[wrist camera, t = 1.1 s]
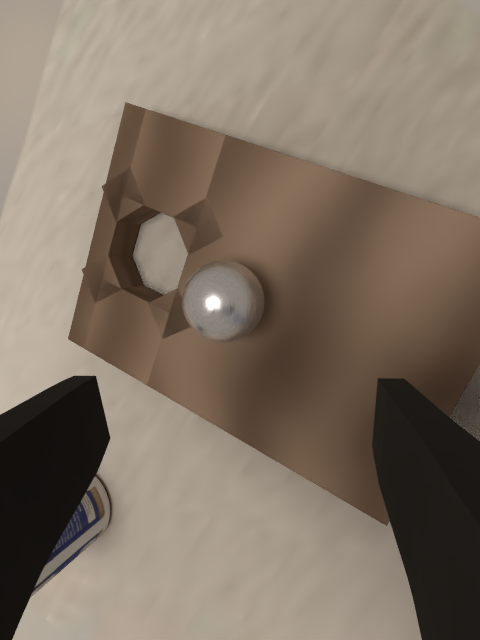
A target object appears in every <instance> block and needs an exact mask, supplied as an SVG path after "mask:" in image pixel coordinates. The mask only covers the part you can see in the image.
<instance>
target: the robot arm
mask: <svg viewBox="0 0 480 640" xmlns="http://www.w3.org/2000/svg"><path fill="white" fill-rule="evenodd" d="M109 440H110V435H109V431H108V426H107V422H106V418H105V413H104V409H103V405H102V400H101V396H100V392H99V387H98V383H97V379H96V376H73V377H70V378H68V379H66V380H64V381H62V382H60V383H58V384H56V385H54V386H52V387H50V388H48V389H46V390H44V391H43V392H41V393H39V394H37V395H35V396H34V397H32V398H30V399H28V400H26V401H25V402H23V403H21V404H19V405H17V406H16V407H14V408H12V409H10V410H8V411H7V412H5V413H3V414H1V415H0V640H12V638H13V636H14V634H15V631H16V629H17V626H18V624H19V622H20V619H21V617H22V614H23V612H24V610H25V608H26V606H27V603H28V601H29V599H30V597H31V595H32V592H33V590H34V588H35V586H36V583H37V581H38V579H39V577H40V575H41V572H42V570H43V569H44V567H45V565H46V563H47V561H48V559H49V557H50V555H51V553H52V551H53V550H54V548H55V546H56V544H57V543H58V541H59V539H60V537H61V536H62V534H63V532H64V530H65V529H66V527H67V525H68V523H69V521H70V520H71V518H72V516H73V514H74V513H75V511H76V509H77V507H78V506H79V504H80V502H81V500H82V499H83V497H84V495H85V493H86V491H87V490H88V488H89V486H90V484H91V482H92V481H93V479H94V477H95V475H96V473H97V471H98V469H99V466H100V464H101V461H102V459H103V456H104V454H105V451H106V448H107V446H108V443H109ZM372 449H373V454H374V460H375V466H376V472H377V477H378V482H379V486H380V490H381V493H382V496H383V500H384V503H385V506H386V509H387V513H388V516H389V519H390V522H391V526H392V529H393V532H394V535H395V538H396V542H397V545H398V548H399V551H400V555H401V558H402V561H403V564H404V567H405V571H406V574H407V577H408V581H409V585H410V588H411V592H412V596H413V600H414V604H415V609H416V614H417V618H418V623H419V628H420V632H421V637H422V640H480V442H479V441H478V440H477V439H476V438H474V437H473V436H472V435H470V434H469V433H468V432H467V431H465V430H464V429H463V428H462V427H460V426H459V425H458V424H457V423H455V422H454V421H453V420H452V419H451V418H449V417H448V416H447V415H446V414H445V413H444V412H442V411H441V410H440V409H439V408H438V407H437V406H435V405H434V404H433V403H432V402H431V401H430V400H428V399H427V398H426V397H425V396H424V395H423V394H422V393H420V392H419V391H418V390H417V389H416V388H415V387H414V386H413V385H411V384H410V383H409V382H408V381H407V380H405V379H404V378H378V381H377V393H376V404H375V416H374V428H373V440H372Z"/></svg>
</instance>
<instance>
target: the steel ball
mask: <svg viewBox="0 0 480 640" xmlns="http://www.w3.org/2000/svg"><path fill="white" fill-rule="evenodd" d="M182 308H183V313H184V316H185V318H186V320H187V322H188V324H189V325H190V326H191V328H192V329H193V330H194V331H195V332H196V333H197V334H199V335H200V336H202V337H203V338H205V339H207V340H210V341H214V342H219V343H228V342H233V341H236V340H239V339H241V338H243V337H245V336H246V335H248V334H249V333H250V332H252V331H253V329H254V328H255V327H256V326H257V324H258V323H259V321H260V319H261V317H262V314H263V310H264V293H263V289H262V286H261V284H260V282H259V280H258V279H257V277H256V276H255V275H254V274H253V272H251V271H250V270H249V269H248V268H246V267H245V266H243V265H241V264H239V263H236V262H233V261H228V260H219V261H213V262H210V263H207V264H205V265H203V266H201V267H200V268H198V269H197V270H196V271H195V272H194V273H193V274H192V275H191V276H190V278H189V279H188V281H187V283H186V285H185V287H184V290H183V295H182Z"/></svg>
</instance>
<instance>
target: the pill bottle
mask: <svg viewBox="0 0 480 640" xmlns="http://www.w3.org/2000/svg"><path fill="white" fill-rule="evenodd" d="M109 517H110V505H109V500H108V496H107V493H106V491H105V489H104V487H103V485H102V484H101V482H100V481H99V480H98V478H97V477H96V476H95V477H94V479H93V481H92V482H91V484H90V486H89V488H88V490H87V491H86V493H85V495H84V497H83V499H82V500H81V502H80V504H79V506H78V507H77V509H76V511H75V513H74V514H73V516H72V518H71V520H70V521H69V523H68V525H67V527H66V529H65V530H64V532H63V534H62V536H61V537H60V539H59V541H58V543H57V544H56V546H55V548H54V550H53V551H52V553H51V555H50V557H49V559H48V561H47V563H46V565H45V567H44V569H43V570H42V572H41V575H40V577H39V579H38V581H37V583H36V586H35V588H34V590H33V592H32V595H31V597H32V596H33V595H34V594H35V593H36V592H37V591H38V590H39V589H41V588H42V587H43V586H44V585H45V584H46V583H47V582H49V581H50V580H51V579H52V578H53V577H54V576H55V575H57V574H58V573H59V572H60V571H61V570H62V569H63V568H64V567H66V566H67V565H68V564H69V563H70V562H71V561H72V560H74V559H75V558H76V557H77V556H78V555H79V554H80V553H81V552H83V551H84V550H85V549H86V548H87V547H88V546H89V545H91V544H92V543H93V542H94V541H95V540H96V539H97V538H98V537H99V536H100V535H101V534H102V533H103V532H104V531H105V529H106V528H107V525H108V522H109Z"/></svg>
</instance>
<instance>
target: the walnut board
mask: <svg viewBox="0 0 480 640" xmlns="http://www.w3.org/2000/svg"><path fill="white" fill-rule="evenodd" d="M102 188H103V191H104V193H103V197H102V201H101V205H100V210H99V214H98V218H97V222H96V226H95V230H94V234H93V238H92V243H91V247H90V251H89V255H88V259H87V263H86V267H85V268H83V269H82V271H83V274H84V276H83V280H82V284H81V288H80V292H79V296H78V300H77V304H76V309H75V313H74V317H73V321H72V325H71V329H70V333H69V337H68V339H69V340H71V341H72V342H74V343H76V344H77V345H79V346H81V347H83V348H84V349H86V350H88V351H89V352H91V353H93V354H95V355H96V356H98V357H100V358H101V359H103V360H105V361H106V362H108V363H110V364H112V365H113V366H115V367H117V368H118V369H120V370H122V371H124V372H125V373H127V374H129V375H130V376H132V377H134V378H136V379H137V380H139V381H141V382H142V383H144V384H146V385H147V386H149V387H151V388H153V389H154V390H156V391H158V392H159V393H161V394H163V395H165V396H166V397H168V398H170V399H171V400H173V401H175V402H176V403H178V404H180V405H182V406H183V407H185V408H187V409H188V410H190V411H192V412H194V413H195V414H197V415H199V416H200V417H202V418H204V419H205V420H207V421H209V422H211V423H212V424H214V425H216V426H217V427H219V428H221V429H223V430H224V431H226V432H228V433H229V434H231V435H233V436H234V437H236V438H238V439H240V440H241V441H243V442H245V443H246V444H248V445H250V446H252V447H253V448H255V449H257V450H258V451H260V452H262V453H263V454H265V455H267V456H269V457H270V458H272V459H274V460H275V461H277V462H279V463H281V464H282V465H284V466H286V467H287V468H289V469H291V470H292V471H294V472H296V473H298V474H299V475H301V476H303V477H304V478H306V479H308V480H310V481H311V482H313V483H315V484H316V485H318V486H320V487H321V488H323V489H325V490H327V491H328V492H330V493H332V494H333V495H335V496H337V497H339V498H340V499H342V500H344V501H345V502H347V503H349V504H350V505H352V506H354V507H356V508H357V509H359V510H361V511H362V512H364V513H366V514H368V515H369V516H371V517H373V518H374V519H376V520H378V521H380V522H381V523H383V524H385V525H386V526H387V525H388V523H389V521H390V519H389V516H388V513H387V509H386V506H385V503H384V500H383V496H382V493H381V490H380V486H379V482H378V477H377V472H376V466H375V460H374V454H373V449H372V440H373V428H374V416H375V404H376V393H377V381H378V378H404V379H405V380H407V381H408V382H409V383H410V384H411V385H413V386H414V387H415V388H416V389H417V390H418V391H419V392H420V393H422V394H423V395H424V396H425V397H426V398H427V399H428V400H430V401H431V402H432V403H433V404H434V405H435V406H437V407H438V408H439V409H440V410H441V411H442V412H444V413H445V414H446V415H447V416H448V417H449V416H450V414H451V413H452V411H453V409H454V407H455V406H456V404H457V402H458V400H459V399H460V397H461V395H462V393H463V391H464V390H465V388H466V386H467V384H468V383H469V381H470V379H471V377H472V376H473V374H474V372H475V370H476V369H477V367H478V365H479V363H480V218H478V217H475V216H472V215H469V214H466V213H463V212H459V211H456V210H453V209H450V208H447V207H444V206H441V205H438V204H435V203H432V202H429V201H426V200H423V199H420V198H417V197H414V196H411V195H407V194H404V193H401V192H398V191H395V190H392V189H389V188H386V187H383V186H380V185H377V184H374V183H371V182H368V181H365V180H362V179H359V178H355V177H352V176H349V175H346V174H343V173H340V172H337V171H334V170H331V169H328V168H325V167H322V166H319V165H316V164H313V163H310V162H307V161H304V160H300V159H297V158H294V157H291V156H288V155H285V154H282V153H279V152H276V151H273V150H270V149H267V148H264V147H261V146H258V145H255V144H252V143H248V142H245V141H242V140H239V139H236V138H233V137H230V136H227V135H224V134H221V133H218V132H215V131H212V130H209V129H206V128H203V127H200V126H196V125H193V124H190V123H187V122H184V121H181V120H178V119H175V118H172V117H169V116H166V115H163V114H160V113H157V112H154V111H151V110H148V109H145V108H141V107H138V106H135V105H132V104H129V103H126V102H125V107H124V111H123V115H122V119H121V123H120V127H119V131H118V135H117V140H116V144H115V148H114V152H113V156H112V160H111V164H110V168H109V173H108V177H107V181H106V184H105V185H103V186H102ZM160 212H162V213H164V214H166V215H169V216H171V217H174V219H175V221H176V224H177V226H178V229H179V231H180V234H181V236H182V239H183V241H184V244H185V247H186V249H187V252H188V256H187V259H186V262H185V265H184V269H183V272H182V275H181V278H180V281H179V284H178V288H177V289H176V290H174V291H172V292H170V293H168V294H166V295H164V296H163V295H161V294H159V293H157V292H155V291H153V290H151V289H149V288H147V287H145V286H144V285H143V282H142V280H141V277H140V275H139V272H138V270H137V267H136V265H135V262H134V260H133V257H132V253H133V250H134V246H135V243H136V239H137V235H138V232H139V228H140V224H142V223H144V222H145V221H147V220H149V219H150V218H152V217H154V216H155V215H157V214H159V213H160ZM219 260H228V261H233V262H236V263H239V264H241V265H243V266H245V267H246V268H248V269H249V270H250V271H251V272H253V274H254V275H255V276H256V277H257V279H258V280H259V282H260V284H261V286H262V289H263V293H264V310H263V314H262V317H261V319H260V321H259V323H258V324H257V326H256V327H255V328H254V329H253V331H252V332H250V333H249V334H248V335H246V336H245V337H243V338H241V339H239V340H236V341H233V342H228V343H219V342H214V341H210V340H207V339H205V338H203V337H202V336H200V335H199V334H197V333H196V332H195V331H194V330H193V329H192V328H191V326H190V325H189V324H188V322H187V320H186V318H185V316H184V313H183V308H182V295H183V290H184V287H185V285H186V283H187V281H188V279H189V278H190V276H191V275H192V274H193V273H194V272H195V271H196V270H197V269H198V268H200V267H201V266H203V265H205V264H207V263H210V262H213V261H219Z"/></svg>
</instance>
